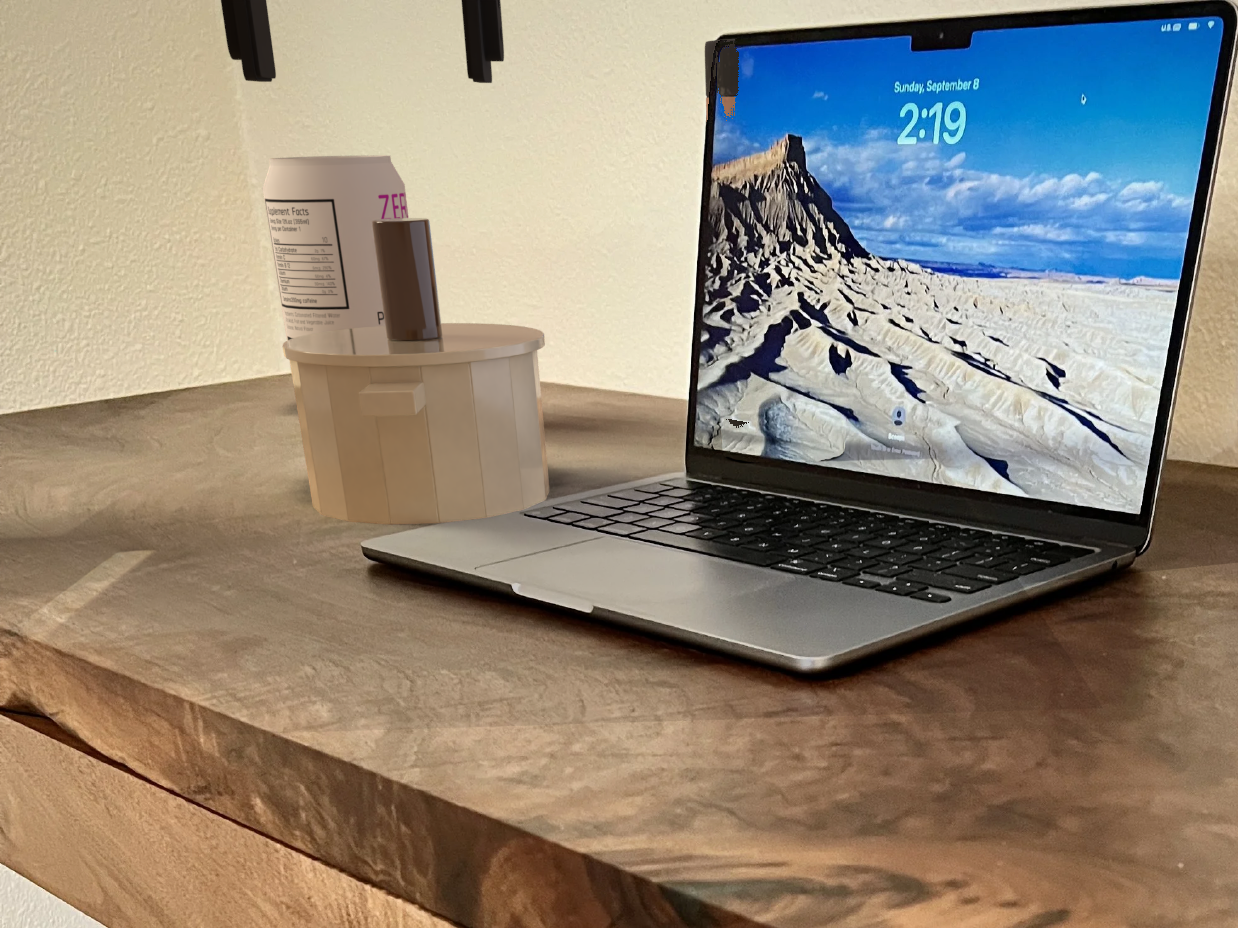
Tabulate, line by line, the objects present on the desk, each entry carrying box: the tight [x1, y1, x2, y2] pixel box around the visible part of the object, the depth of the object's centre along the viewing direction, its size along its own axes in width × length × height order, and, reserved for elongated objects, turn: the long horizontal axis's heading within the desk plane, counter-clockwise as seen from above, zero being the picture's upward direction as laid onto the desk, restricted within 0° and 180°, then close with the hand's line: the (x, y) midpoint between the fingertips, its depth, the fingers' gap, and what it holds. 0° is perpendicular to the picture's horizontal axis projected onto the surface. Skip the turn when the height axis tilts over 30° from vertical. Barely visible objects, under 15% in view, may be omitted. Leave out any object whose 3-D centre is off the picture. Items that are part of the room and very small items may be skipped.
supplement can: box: [262, 154, 410, 341], centre depth 99 cm, size 8×8×15 cm
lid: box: [282, 217, 546, 367], centre depth 75 cm, size 12×12×6 cm
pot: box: [289, 350, 550, 525], centre depth 78 cm, size 11×17×7 cm
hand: (371, 81), depth 71 cm, fingers open, 9 cm apart
